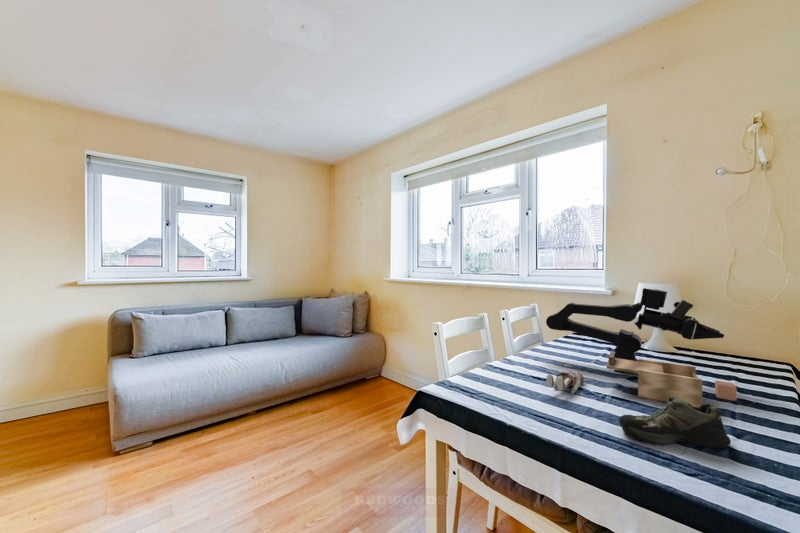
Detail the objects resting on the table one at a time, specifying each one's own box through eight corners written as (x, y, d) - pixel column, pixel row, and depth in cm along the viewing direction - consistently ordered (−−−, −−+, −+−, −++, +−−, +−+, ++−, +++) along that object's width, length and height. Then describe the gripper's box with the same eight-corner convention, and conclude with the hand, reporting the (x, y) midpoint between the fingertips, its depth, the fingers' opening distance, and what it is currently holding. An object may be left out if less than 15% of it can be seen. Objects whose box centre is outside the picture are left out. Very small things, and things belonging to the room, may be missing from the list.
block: (717, 397, 98) (717, 384, 97) (714, 393, 101) (715, 380, 101) (736, 401, 95) (736, 387, 95) (733, 396, 98) (733, 383, 98)
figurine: (544, 373, 99) (570, 366, 113) (543, 392, 99) (569, 383, 113) (565, 378, 95) (590, 371, 108) (564, 398, 95) (589, 388, 108)
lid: (606, 368, 103) (606, 358, 103) (609, 359, 112) (609, 350, 112) (664, 377, 95) (664, 366, 95) (661, 367, 104) (661, 357, 104)
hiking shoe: (610, 425, 81) (610, 387, 81) (706, 431, 78) (707, 392, 78) (629, 444, 73) (629, 402, 73) (738, 451, 70) (739, 408, 70)
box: (638, 397, 97) (638, 369, 97) (638, 383, 109) (638, 358, 109) (701, 410, 89) (702, 379, 89) (694, 393, 100) (695, 366, 100)
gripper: (666, 298, 107) (733, 311, 97) (665, 297, 122) (723, 308, 112) (658, 331, 108) (723, 348, 98) (658, 326, 123) (715, 339, 113)
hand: (721, 334), depth 105 cm, fingers open, 9 cm apart
